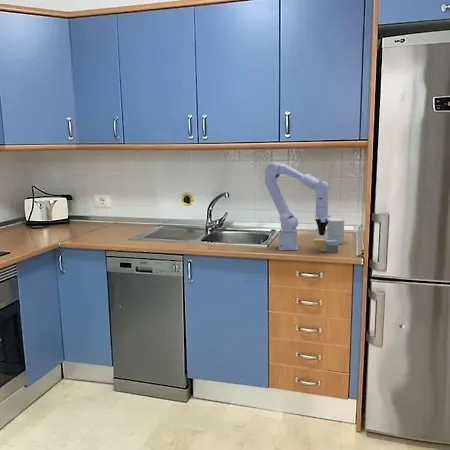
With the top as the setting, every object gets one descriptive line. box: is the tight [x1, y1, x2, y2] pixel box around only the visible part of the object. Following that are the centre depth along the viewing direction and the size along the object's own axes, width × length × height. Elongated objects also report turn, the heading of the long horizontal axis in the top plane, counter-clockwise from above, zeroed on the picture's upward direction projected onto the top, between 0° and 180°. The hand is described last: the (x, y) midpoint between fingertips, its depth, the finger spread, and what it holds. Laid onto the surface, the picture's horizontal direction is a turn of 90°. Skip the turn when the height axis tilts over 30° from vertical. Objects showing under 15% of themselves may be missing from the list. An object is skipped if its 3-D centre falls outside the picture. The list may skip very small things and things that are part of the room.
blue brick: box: [323, 239, 337, 250], centre depth 234 cm, size 6×3×4 cm, turn 104°
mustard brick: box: [312, 238, 326, 249], centre depth 237 cm, size 6×3×4 cm, turn 84°
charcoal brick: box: [325, 244, 339, 254], centre depth 226 cm, size 6×3×4 cm, turn 84°
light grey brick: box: [315, 228, 328, 239], centre depth 227 cm, size 6×3×4 cm, turn 84°
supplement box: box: [326, 217, 345, 245], centre depth 244 cm, size 7×7×13 cm
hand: (321, 234), depth 227 cm, fingers closed on light grey brick, 3 cm apart
